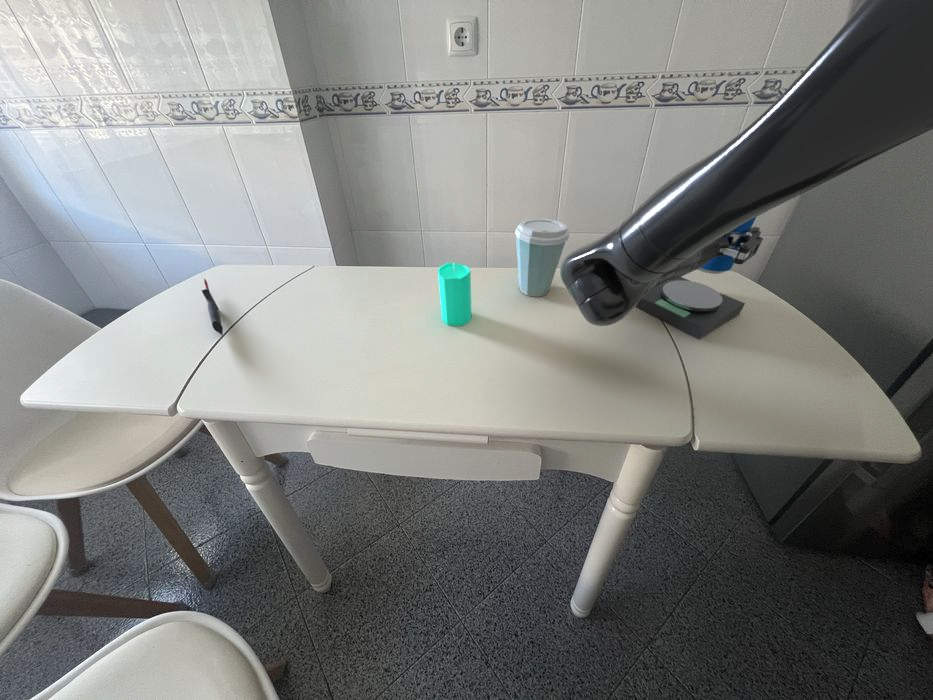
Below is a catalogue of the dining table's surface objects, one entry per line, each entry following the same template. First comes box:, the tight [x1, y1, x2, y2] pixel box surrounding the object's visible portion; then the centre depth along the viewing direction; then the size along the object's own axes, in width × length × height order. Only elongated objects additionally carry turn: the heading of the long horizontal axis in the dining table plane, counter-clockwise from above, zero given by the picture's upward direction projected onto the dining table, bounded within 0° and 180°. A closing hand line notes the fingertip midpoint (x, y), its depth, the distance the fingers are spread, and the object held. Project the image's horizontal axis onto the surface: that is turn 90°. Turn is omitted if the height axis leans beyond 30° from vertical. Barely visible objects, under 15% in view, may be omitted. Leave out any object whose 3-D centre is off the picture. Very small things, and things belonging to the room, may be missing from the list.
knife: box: [201, 278, 224, 336], centre depth 76 cm, size 24×2×5 cm, turn 35°
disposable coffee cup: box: [514, 217, 570, 298], centre depth 76 cm, size 11×11×15 cm
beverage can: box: [696, 217, 757, 275], centre depth 60 cm, size 6×6×12 cm
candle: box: [437, 261, 472, 327], centre depth 69 cm, size 6×6×12 cm
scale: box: [635, 276, 746, 340], centre depth 72 cm, size 14×14×3 cm
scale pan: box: [662, 280, 723, 311], centre depth 71 cm, size 10×10×1 cm
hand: (731, 226), depth 60 cm, fingers closed on beverage can, 6 cm apart
